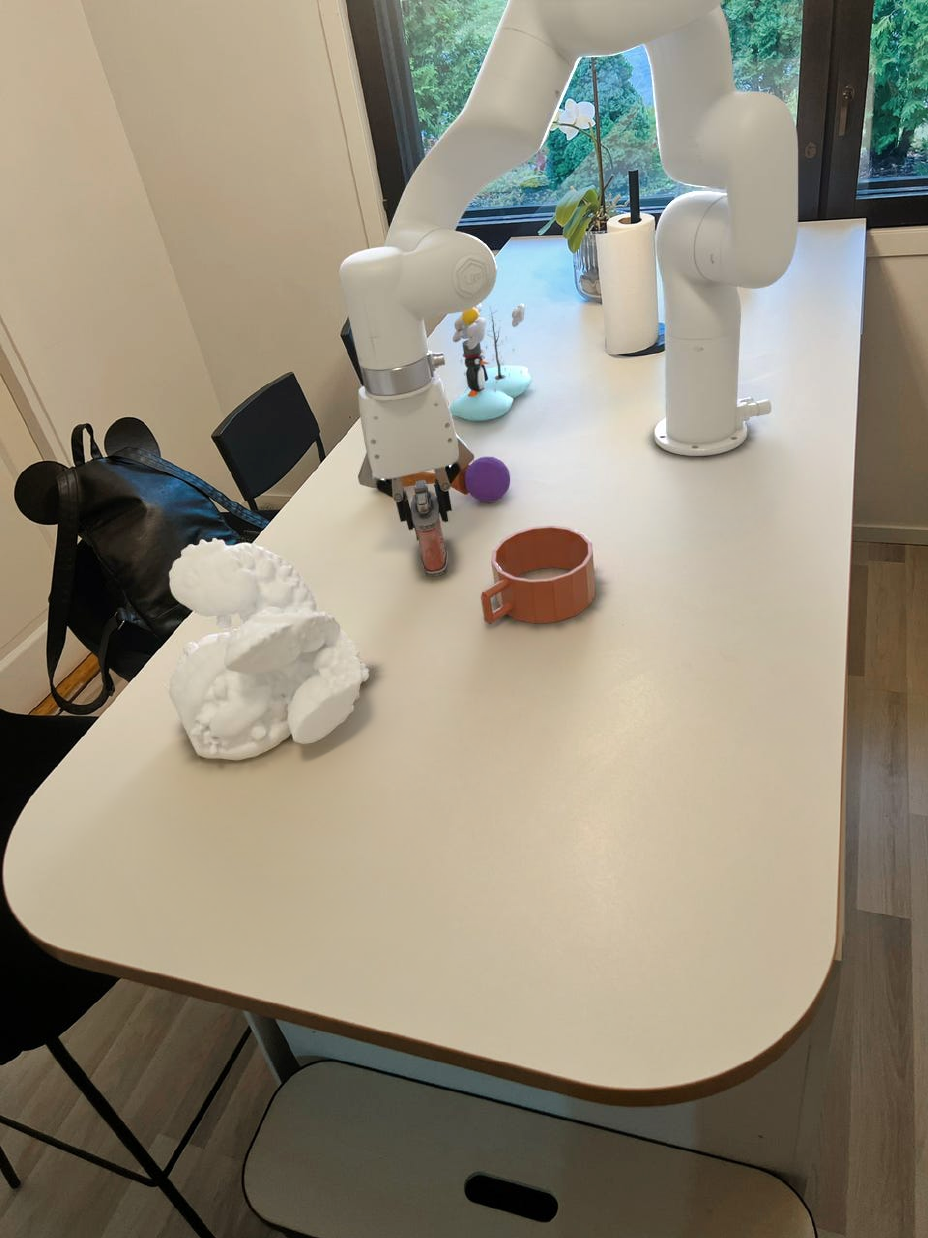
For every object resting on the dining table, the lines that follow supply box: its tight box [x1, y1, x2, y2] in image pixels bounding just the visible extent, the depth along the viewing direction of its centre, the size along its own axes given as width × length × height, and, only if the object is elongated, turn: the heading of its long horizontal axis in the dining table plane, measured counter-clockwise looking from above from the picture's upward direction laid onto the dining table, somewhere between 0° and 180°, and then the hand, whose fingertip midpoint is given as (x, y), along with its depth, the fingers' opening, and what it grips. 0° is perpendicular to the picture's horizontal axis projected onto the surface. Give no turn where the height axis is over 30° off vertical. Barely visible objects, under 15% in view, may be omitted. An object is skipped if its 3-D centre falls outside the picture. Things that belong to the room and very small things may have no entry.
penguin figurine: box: [449, 302, 532, 422], centre depth 139 cm, size 20×11×15 cm, turn 157°
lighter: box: [410, 480, 450, 579], centre depth 104 cm, size 8×3×10 cm, turn 5°
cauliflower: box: [164, 537, 370, 761], centre depth 85 cm, size 19×20×20 cm
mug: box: [480, 525, 597, 625], centre depth 96 cm, size 14×11×6 cm
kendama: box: [389, 456, 511, 503], centre depth 119 cm, size 6×6×20 cm
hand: (426, 519), depth 104 cm, fingers closed on lighter, 3 cm apart
